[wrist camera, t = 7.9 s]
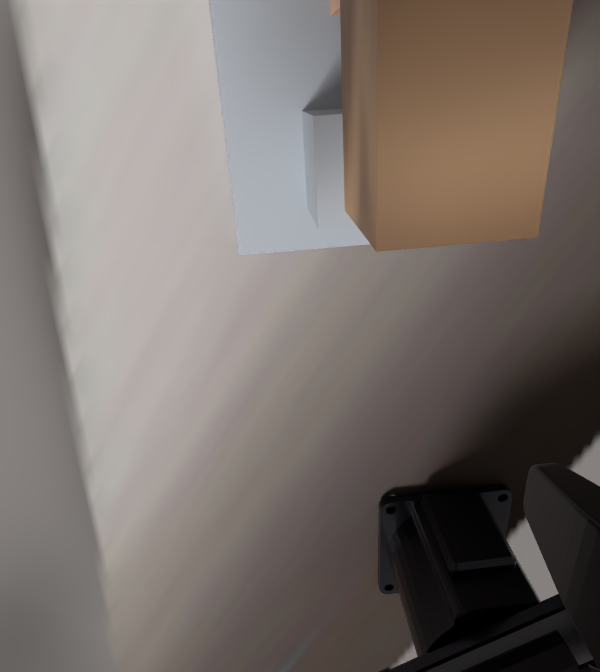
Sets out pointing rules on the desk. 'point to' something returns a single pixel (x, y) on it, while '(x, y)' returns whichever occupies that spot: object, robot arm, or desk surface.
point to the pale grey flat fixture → (283, 122)
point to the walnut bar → (449, 117)
